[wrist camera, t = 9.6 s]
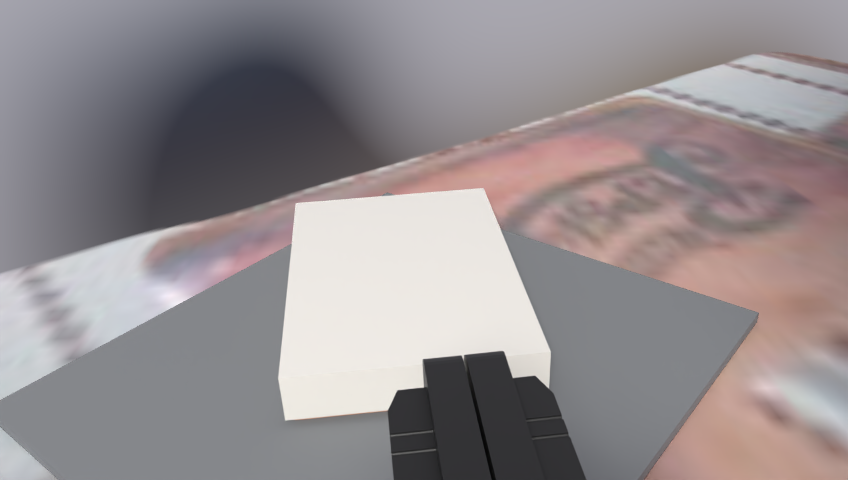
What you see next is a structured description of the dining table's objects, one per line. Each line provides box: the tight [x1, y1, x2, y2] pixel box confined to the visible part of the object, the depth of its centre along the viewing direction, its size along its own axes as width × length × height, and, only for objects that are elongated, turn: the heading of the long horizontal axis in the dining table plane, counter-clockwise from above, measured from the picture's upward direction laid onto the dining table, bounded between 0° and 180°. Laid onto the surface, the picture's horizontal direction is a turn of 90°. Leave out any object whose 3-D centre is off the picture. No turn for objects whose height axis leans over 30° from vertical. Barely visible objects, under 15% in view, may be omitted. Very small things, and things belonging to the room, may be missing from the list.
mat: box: [0, 193, 759, 480], centre depth 32 cm, size 24×22×1 cm
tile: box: [278, 188, 551, 421], centre depth 35 cm, size 2×10×14 cm
